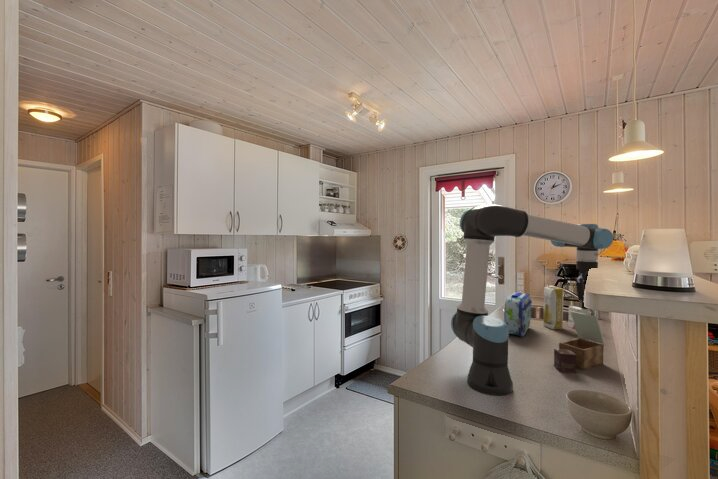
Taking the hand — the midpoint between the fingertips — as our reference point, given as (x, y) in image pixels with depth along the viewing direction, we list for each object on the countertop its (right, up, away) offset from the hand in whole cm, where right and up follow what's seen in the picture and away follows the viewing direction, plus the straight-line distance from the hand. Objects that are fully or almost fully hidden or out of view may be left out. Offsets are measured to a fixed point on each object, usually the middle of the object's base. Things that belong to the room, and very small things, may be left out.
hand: (585, 316), depth 141 cm
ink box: (+29, -18, +49) cm, 60 cm away
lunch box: (-8, -18, +42) cm, 47 cm away
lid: (+1, -5, +1) cm, 5 cm away
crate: (-3, -19, -1) cm, 19 cm away
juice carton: (+16, -18, +51) cm, 56 cm away
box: (-14, -20, -8) cm, 25 cm away
